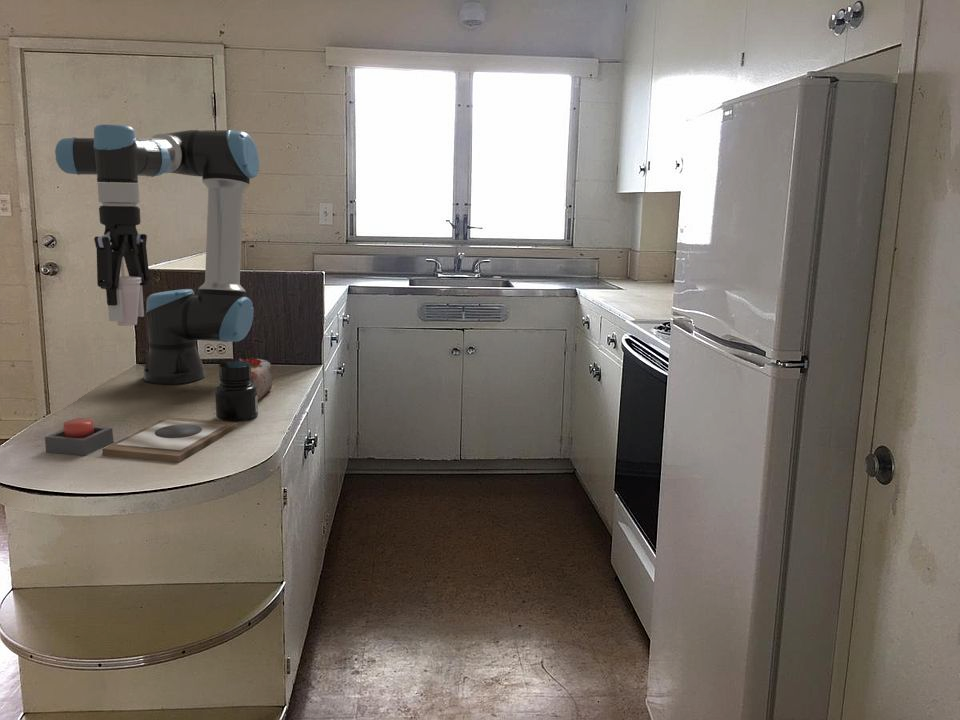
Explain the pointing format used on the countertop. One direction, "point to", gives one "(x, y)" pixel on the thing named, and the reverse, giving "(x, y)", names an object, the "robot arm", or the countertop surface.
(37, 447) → the countertop surface
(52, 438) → the button housing
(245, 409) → the ink bottle
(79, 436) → the button
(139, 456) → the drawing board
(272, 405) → the countertop surface
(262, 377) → the food item
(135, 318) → the smoothie
